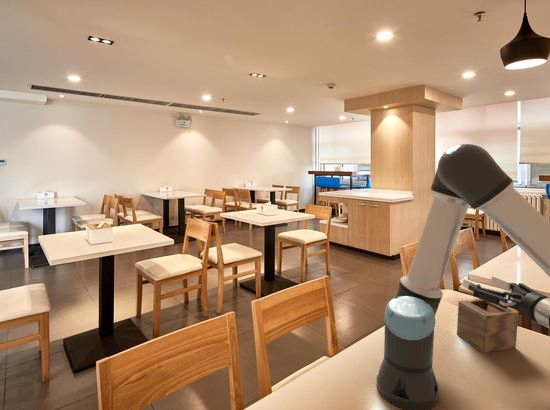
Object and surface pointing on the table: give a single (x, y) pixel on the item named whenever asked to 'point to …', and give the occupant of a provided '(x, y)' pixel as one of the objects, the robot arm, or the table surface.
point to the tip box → (487, 325)
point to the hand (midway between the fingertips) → (478, 281)
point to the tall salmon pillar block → (492, 309)
